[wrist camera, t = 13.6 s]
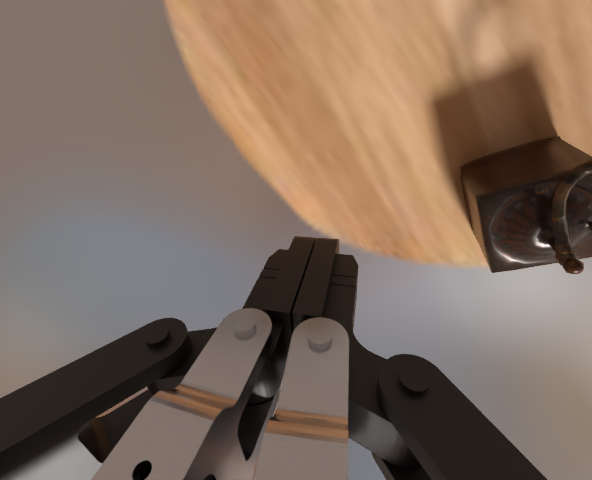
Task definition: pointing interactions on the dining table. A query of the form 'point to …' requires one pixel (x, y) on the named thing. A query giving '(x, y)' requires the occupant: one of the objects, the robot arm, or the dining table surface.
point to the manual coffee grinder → (531, 205)
